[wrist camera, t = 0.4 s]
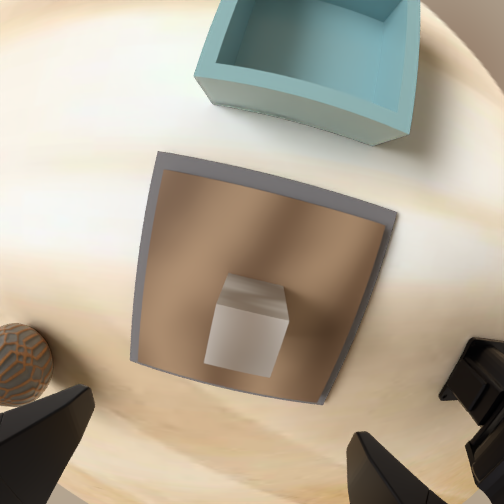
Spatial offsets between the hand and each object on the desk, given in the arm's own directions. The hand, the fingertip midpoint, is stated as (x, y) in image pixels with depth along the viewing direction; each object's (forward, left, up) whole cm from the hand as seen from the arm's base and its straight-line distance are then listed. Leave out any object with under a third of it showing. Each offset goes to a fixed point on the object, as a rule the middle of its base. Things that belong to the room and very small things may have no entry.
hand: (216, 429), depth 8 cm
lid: (0, -1, -11) cm, 11 cm away
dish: (0, -17, -11) cm, 20 cm away
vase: (+18, +10, -11) cm, 23 cm away
